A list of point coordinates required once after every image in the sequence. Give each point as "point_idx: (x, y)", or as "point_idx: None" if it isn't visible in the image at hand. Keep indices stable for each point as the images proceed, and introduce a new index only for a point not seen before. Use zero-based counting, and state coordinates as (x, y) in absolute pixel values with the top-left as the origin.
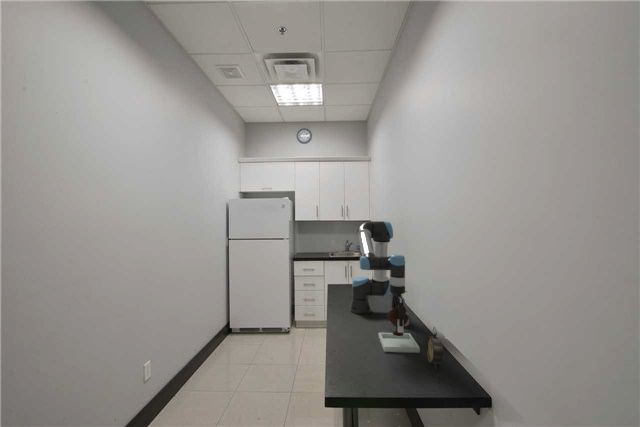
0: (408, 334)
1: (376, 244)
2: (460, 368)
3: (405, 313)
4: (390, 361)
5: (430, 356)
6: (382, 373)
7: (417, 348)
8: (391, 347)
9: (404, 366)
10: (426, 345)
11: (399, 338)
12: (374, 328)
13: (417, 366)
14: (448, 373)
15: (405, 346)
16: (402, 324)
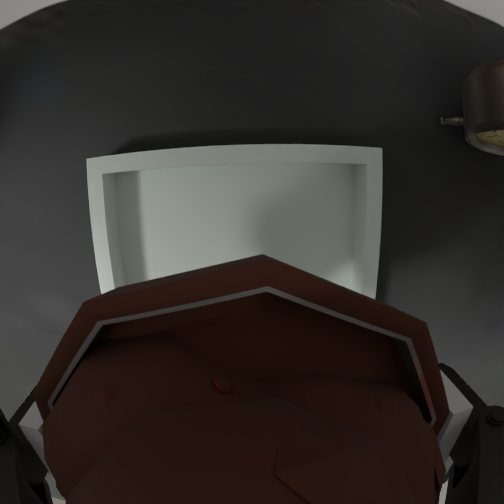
0: (103, 173)
1: None
2: (481, 24)
3: (303, 412)
4: (442, 347)
5: (499, 140)
6: (497, 372)
7: (379, 166)
8: None
9: (485, 288)
10: (484, 131)
11: (139, 252)
12: (23, 372)
13: (492, 224)
14: None
15: (367, 259)
16: (458, 379)
